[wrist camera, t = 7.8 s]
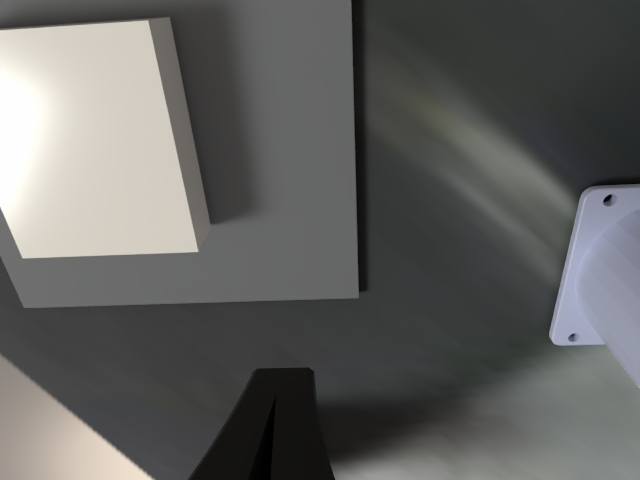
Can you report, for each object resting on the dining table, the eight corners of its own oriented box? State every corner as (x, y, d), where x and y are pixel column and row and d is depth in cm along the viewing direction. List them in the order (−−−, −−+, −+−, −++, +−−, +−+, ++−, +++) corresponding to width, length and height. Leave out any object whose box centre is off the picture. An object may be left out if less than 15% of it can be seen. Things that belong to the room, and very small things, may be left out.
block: (148, 20, 14) (-75, 35, 14) (198, 252, 17) (22, 258, 18) (171, 16, 16) (-24, 29, 16) (212, 225, 19) (53, 231, 20)
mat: (347, -146, 14) (347, -150, 13) (358, 292, 21) (358, 297, 21) (-153, -102, 15) (-165, -105, 14) (29, 303, 22) (24, 307, 22)
